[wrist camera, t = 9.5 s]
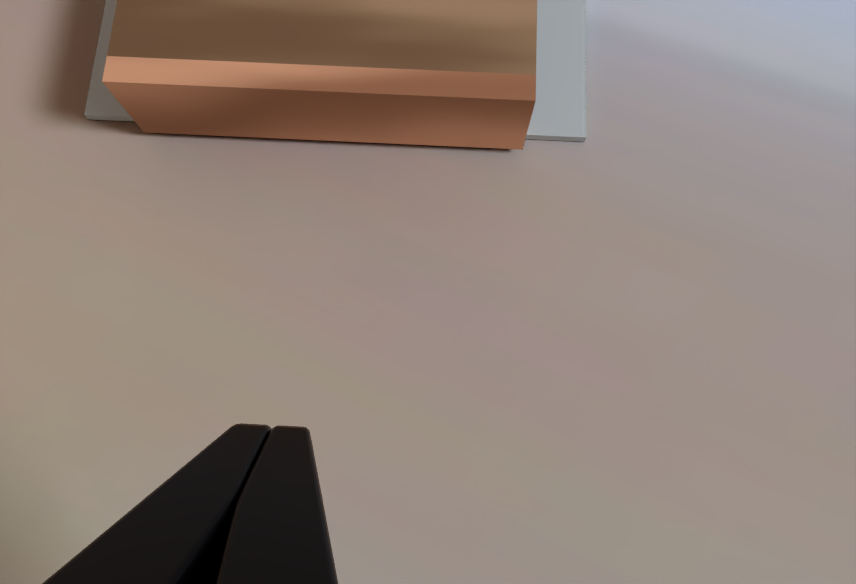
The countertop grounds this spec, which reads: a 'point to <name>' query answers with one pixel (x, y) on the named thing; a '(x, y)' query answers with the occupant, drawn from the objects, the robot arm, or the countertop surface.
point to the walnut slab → (328, 69)
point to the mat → (555, 73)
